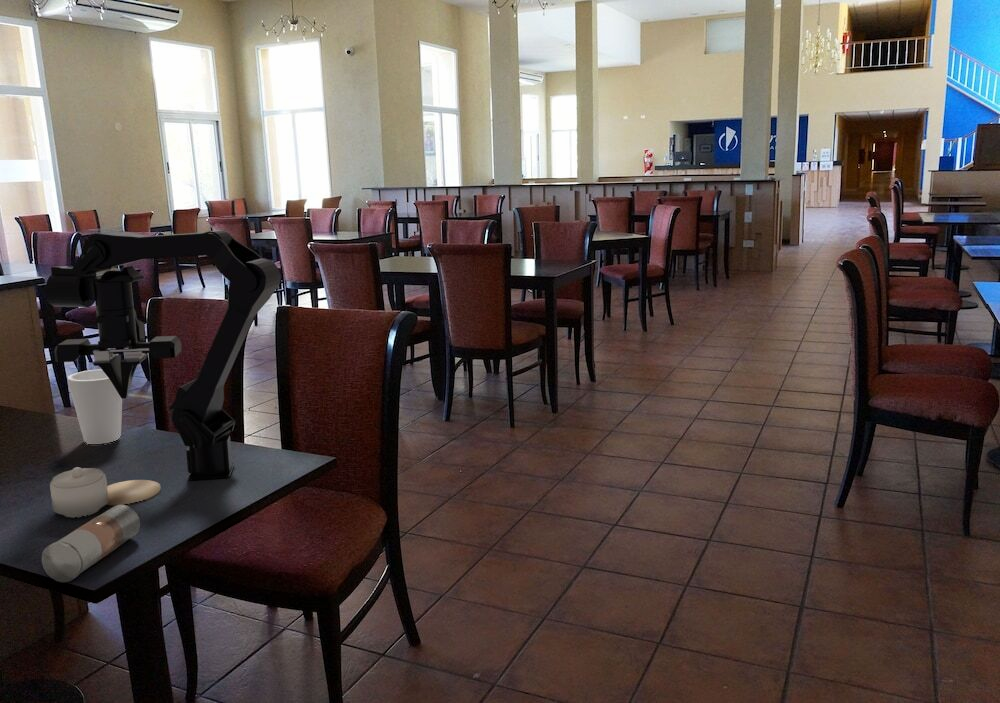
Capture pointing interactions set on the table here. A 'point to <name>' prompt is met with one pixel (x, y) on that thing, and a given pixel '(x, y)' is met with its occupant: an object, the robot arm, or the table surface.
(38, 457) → the table surface
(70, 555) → the tea canister
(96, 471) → the sugar bowl
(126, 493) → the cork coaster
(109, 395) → the foam cup
